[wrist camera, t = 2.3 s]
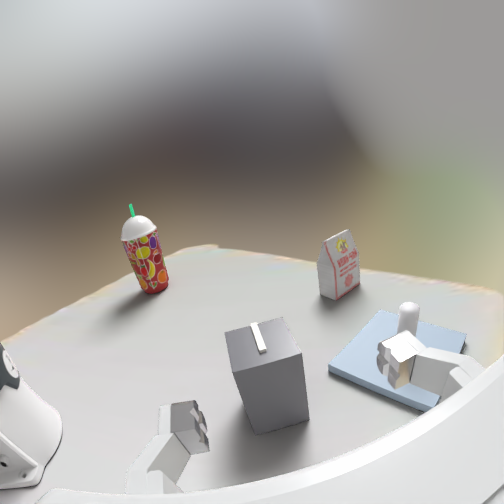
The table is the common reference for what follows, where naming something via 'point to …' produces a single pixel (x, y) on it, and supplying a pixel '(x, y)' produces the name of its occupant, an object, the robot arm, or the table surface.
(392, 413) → the table surface
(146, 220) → the smoothie
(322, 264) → the white paper bag
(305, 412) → the tall gray block
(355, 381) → the panel
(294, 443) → the table surface
